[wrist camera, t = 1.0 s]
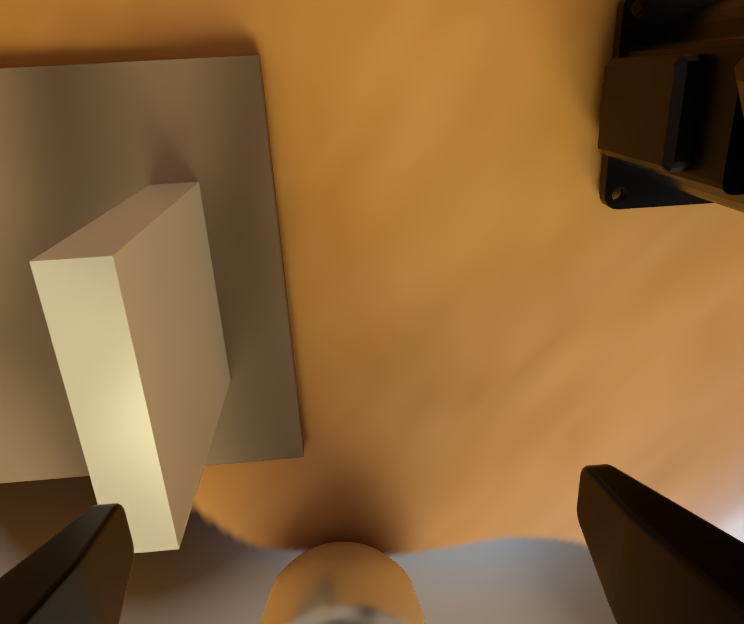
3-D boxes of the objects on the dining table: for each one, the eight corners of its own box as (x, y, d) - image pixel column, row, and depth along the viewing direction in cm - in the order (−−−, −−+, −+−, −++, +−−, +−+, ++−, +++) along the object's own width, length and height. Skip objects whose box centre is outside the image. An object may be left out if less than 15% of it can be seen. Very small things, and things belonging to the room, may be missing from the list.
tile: (199, 181, 18) (112, 255, 11) (230, 380, 21) (178, 548, 14) (144, 185, 18) (20, 262, 11) (183, 384, 21) (105, 556, 13)
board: (260, 55, 18) (257, 55, 17) (304, 447, 23) (303, 457, 22) (-231, 80, 17) (-250, 81, 16) (-69, 479, 22) (-78, 489, 22)
